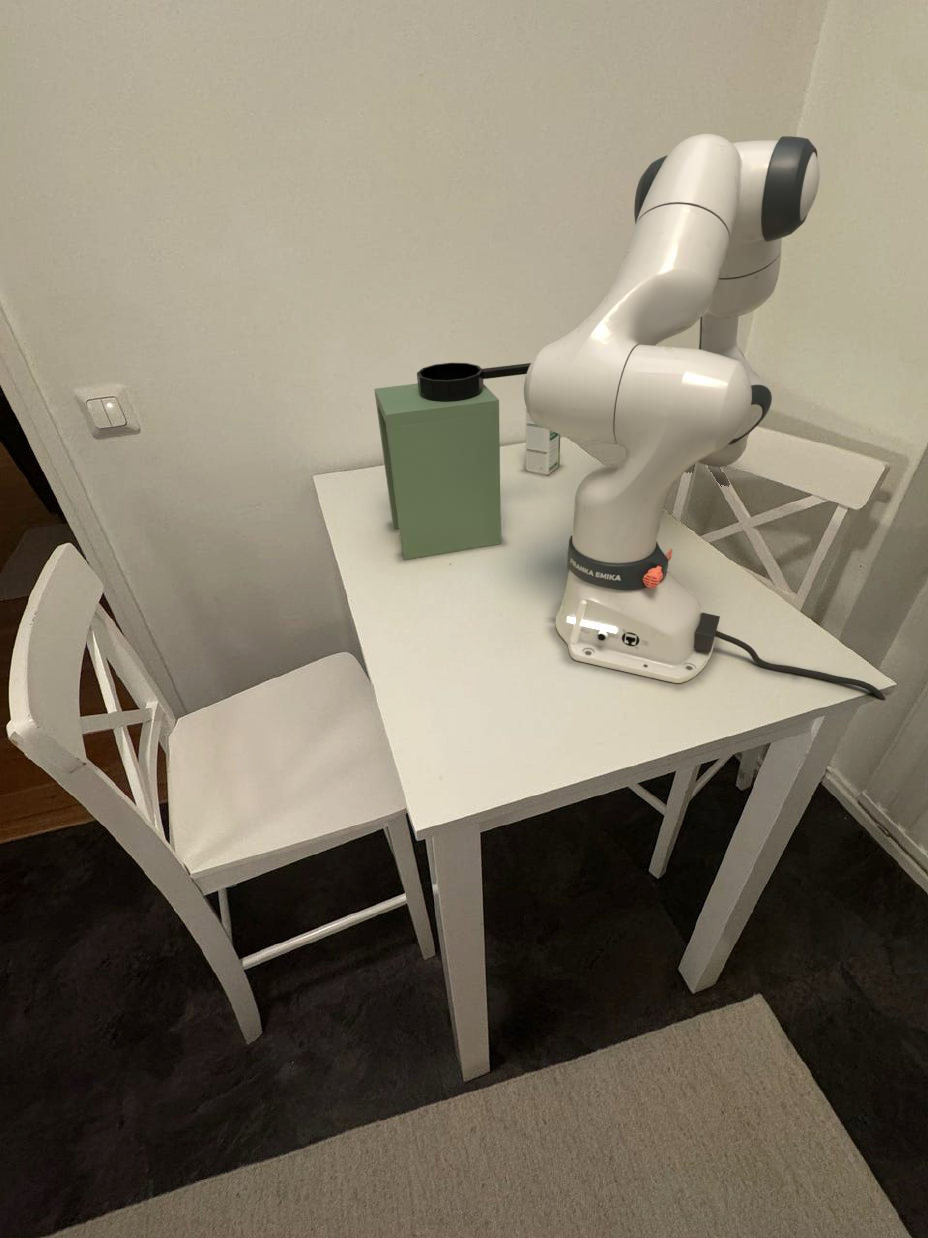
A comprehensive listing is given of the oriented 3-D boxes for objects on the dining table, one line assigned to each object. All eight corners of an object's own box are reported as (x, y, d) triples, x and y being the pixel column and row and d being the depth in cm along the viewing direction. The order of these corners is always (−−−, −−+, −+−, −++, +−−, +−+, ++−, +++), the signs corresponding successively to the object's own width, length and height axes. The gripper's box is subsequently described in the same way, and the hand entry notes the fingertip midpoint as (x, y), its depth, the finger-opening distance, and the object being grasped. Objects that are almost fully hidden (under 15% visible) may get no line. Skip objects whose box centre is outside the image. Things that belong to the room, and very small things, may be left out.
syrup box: (548, 475, 133) (550, 409, 124) (524, 470, 135) (525, 405, 127) (559, 466, 136) (562, 401, 128) (536, 461, 139) (538, 397, 130)
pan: (561, 368, 107) (562, 349, 105) (584, 385, 99) (585, 364, 97) (414, 386, 102) (412, 366, 100) (426, 405, 94) (424, 383, 92)
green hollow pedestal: (481, 510, 121) (476, 376, 106) (501, 543, 110) (499, 399, 95) (392, 524, 118) (374, 388, 103) (404, 560, 107) (385, 414, 92)
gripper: (653, 390, 119) (599, 363, 113) (713, 424, 103) (653, 395, 97) (636, 420, 122) (582, 396, 116) (691, 458, 106) (632, 432, 100)
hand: (615, 396), depth 106 cm, fingers open, 8 cm apart
